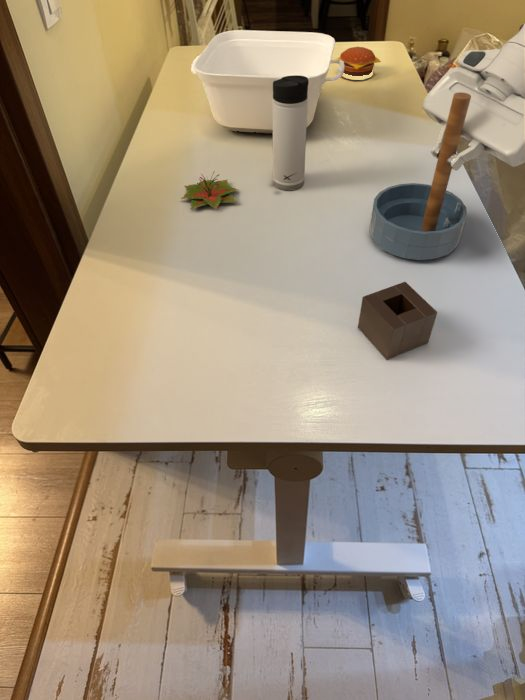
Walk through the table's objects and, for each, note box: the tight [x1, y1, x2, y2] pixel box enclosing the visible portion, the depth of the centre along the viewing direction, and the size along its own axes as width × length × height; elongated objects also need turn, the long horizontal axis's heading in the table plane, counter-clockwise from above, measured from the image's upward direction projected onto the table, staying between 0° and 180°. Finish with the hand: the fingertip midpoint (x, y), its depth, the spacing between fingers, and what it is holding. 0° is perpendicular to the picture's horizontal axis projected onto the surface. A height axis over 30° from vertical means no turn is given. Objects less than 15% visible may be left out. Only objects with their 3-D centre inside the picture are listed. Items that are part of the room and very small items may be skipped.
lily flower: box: [180, 170, 239, 211], centre depth 99 cm, size 12×12×5 cm
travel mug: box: [272, 75, 309, 191], centre depth 97 cm, size 6×7×20 cm
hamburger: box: [334, 46, 382, 76], centre depth 139 cm, size 9×10×7 cm
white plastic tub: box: [190, 29, 344, 135], centre depth 119 cm, size 34×29×15 cm
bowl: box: [368, 182, 468, 261], centre depth 89 cm, size 15×15×6 cm
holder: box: [357, 281, 438, 361], centre depth 73 cm, size 7×7×6 cm
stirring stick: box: [421, 92, 471, 232], centre depth 81 cm, size 2×2×22 cm
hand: (442, 161), depth 80 cm, fingers closed on stirring stick, 2 cm apart
